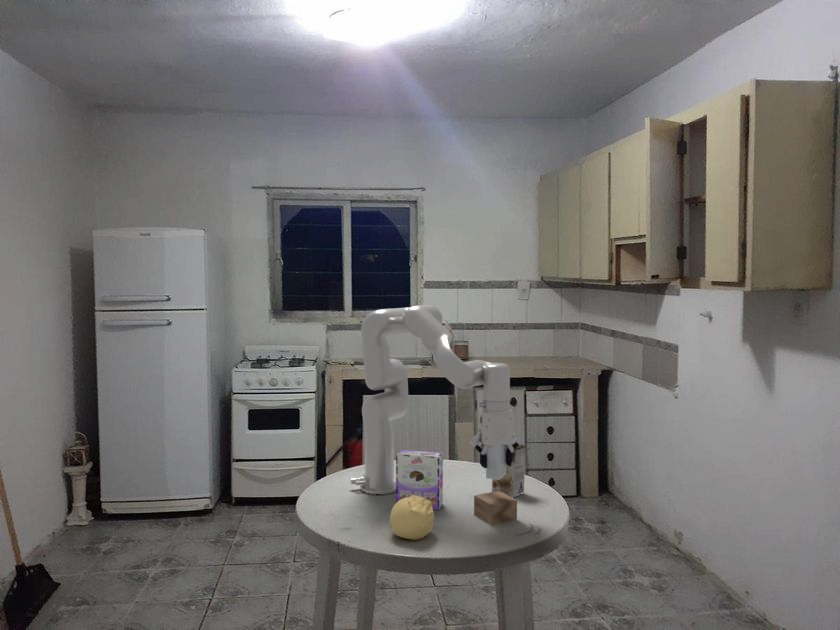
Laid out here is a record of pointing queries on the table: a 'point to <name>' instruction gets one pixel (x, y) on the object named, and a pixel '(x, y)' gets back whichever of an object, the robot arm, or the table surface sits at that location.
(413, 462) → the candy box
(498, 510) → the brown cardboard box
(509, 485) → the coffee box
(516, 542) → the table surface
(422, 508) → the pale yellow round lump
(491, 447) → the skincare box
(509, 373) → the robot arm
